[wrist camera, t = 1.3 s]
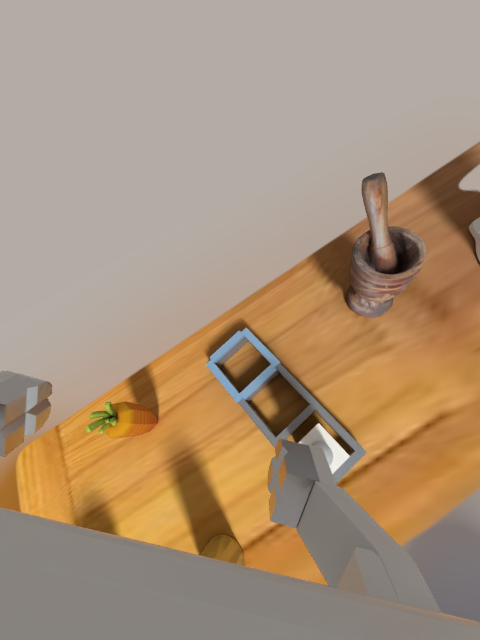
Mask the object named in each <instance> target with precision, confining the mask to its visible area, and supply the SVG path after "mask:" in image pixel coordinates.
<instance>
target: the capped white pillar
mask: <svg viewBox="0 0 480 640" xmlns="http://www.w3.org/2000/svg"><path fill="white" fill-rule="evenodd" d="M298 443H300V444H304V445H311V446H316V447H320V448H322V449H323V451H324V453H325V456H326V459H327V461H328V464H329V467H330V469H331V472H332V474H333V473H334V472H335V471H336V470H337V469H338V468H339V467H340V466H341V465H342V464H343V463H344V462H345V461H346V460H347V459H348V458H349V457H350V456H349V455H348V454H347V453H346V451H345V450H344V449H343V448H342V447H341V446H340V445H339V444H338V443H337V442H336V441H335V440H334V439H333V438H332V437H331V435H330V434H329V433H328V432H327V431H326V430H325V429H324V428H323V427H322V426H321V425H320V424H319V423H318V424H317V425H315V426H314V427H313V428H312V429H311V430H310V431H309V432H308V433H307V434H306V435H305V436H304V437H303V438H302V439H301V440H300V441H299V442H298Z"/></svg>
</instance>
